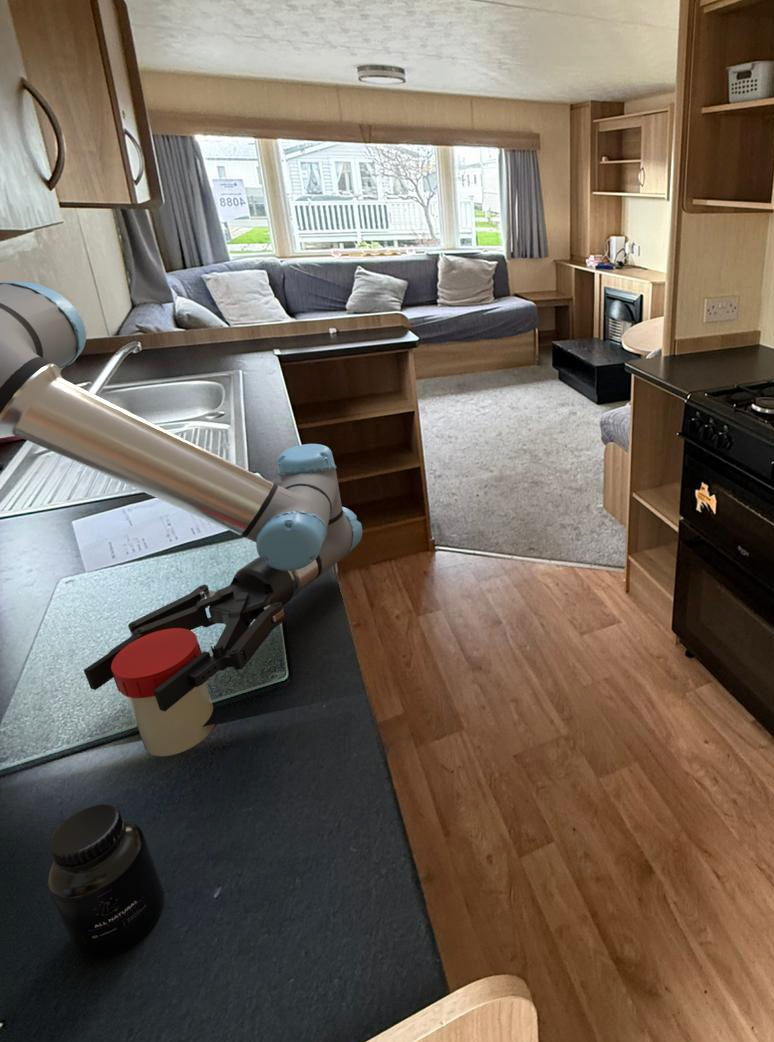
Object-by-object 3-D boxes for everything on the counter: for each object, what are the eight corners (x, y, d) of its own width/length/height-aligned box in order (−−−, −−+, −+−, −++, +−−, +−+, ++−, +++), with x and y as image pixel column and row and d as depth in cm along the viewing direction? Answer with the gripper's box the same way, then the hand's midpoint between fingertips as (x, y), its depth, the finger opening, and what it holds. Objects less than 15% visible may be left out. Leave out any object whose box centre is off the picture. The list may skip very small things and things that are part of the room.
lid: (106, 706, 71) (98, 685, 70) (132, 655, 78) (126, 636, 77) (192, 688, 73) (186, 668, 72) (210, 641, 81) (204, 622, 80)
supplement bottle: (123, 970, 56) (80, 876, 51) (56, 954, 57) (8, 861, 52) (184, 888, 62) (150, 799, 57) (122, 876, 63) (85, 787, 58)
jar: (135, 763, 75) (105, 686, 71) (155, 714, 82) (130, 641, 77) (208, 747, 77) (184, 671, 73) (222, 701, 84) (201, 628, 79)
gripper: (345, 614, 90) (210, 740, 70) (219, 586, 96) (62, 694, 76) (336, 568, 87) (193, 686, 67) (207, 542, 93) (41, 642, 73)
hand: (123, 690), depth 72 cm, fingers open, 10 cm apart
